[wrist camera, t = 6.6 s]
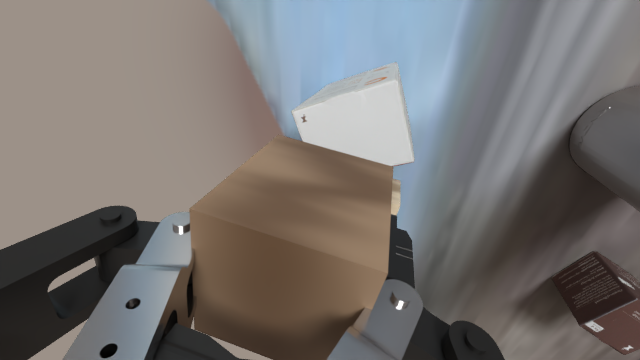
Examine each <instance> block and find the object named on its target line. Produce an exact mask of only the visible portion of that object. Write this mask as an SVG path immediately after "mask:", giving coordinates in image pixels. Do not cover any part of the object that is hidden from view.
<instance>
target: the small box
mask: <svg viewBox="0 0 640 360" xmlns="http://www.w3.org/2000/svg"><path fill="white" fill-rule="evenodd" d="M291 112H292V115H293V117H294V120H295V122H296V125H297V127H298V130H299V133H300V136H301V138H302V141H303V142H306V143H310V144H314V145H317V146H321V147H324V148H328V149H331V150H335V151H339V152H342V153H346V154H349V155H353V156H357V157H360V158H364V159H367V160H371V161H374V162H378V163H382V164H385V165H389V166H392V167H393V166H398V165H402V164H407V163H412V162H414V152H413V144H412V137H411V129H410V122H409V116H408V111H407V106H406V101H405V96H404V92H403V87H402V82H401V77H400V73H399V68H398V64H397V62H394V63H391V64H387V65H384V66H381V67H378V68H375V69H372V70H369V71H366V72H363V73H360V74H357V75H354V76H351V77H348V78H345V79H342V80H339V81H336V82H333V83H330V84H328V85H327V86H325V87H324V88H323V89H321V90H320V91H319V92H317V93H316V94H315V95H313V96H312V97H310V98H309V99H307V100H306V101H305V102H303V103H302V104H300V105H299V106H298V107H296V108H295V109H294V110H292V111H291Z"/></svg>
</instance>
